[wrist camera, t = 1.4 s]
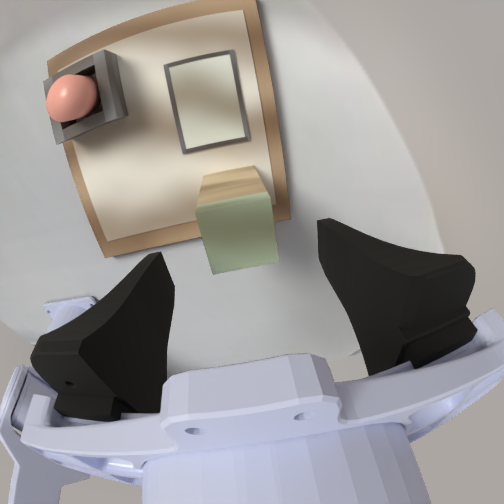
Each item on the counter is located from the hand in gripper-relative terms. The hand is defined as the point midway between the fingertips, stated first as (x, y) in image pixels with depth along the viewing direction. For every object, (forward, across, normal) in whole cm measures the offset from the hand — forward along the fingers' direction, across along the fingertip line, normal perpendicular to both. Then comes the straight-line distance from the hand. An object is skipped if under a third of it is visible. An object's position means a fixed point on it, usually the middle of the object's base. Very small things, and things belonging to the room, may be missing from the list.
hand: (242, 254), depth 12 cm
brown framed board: (+9, +4, -6) cm, 12 cm away
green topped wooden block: (+8, 0, 0) cm, 8 cm away
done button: (+7, +9, -10) cm, 15 cm away
